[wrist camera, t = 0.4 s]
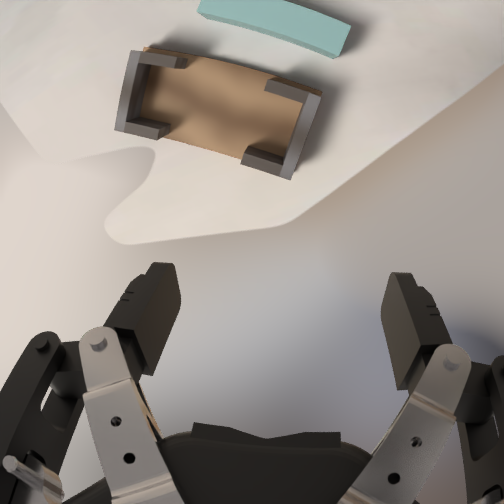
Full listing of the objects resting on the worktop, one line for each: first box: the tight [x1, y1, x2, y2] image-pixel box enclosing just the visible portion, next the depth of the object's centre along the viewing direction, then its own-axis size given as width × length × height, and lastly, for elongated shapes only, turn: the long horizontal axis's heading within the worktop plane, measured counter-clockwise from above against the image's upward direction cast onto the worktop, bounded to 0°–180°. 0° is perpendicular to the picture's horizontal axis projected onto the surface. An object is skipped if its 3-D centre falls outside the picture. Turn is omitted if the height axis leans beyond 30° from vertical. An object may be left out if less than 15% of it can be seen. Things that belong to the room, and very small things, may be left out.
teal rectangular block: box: [197, 0, 351, 59], centre depth 24 cm, size 4×14×4 cm, turn 71°
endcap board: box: [114, 47, 322, 180], centre depth 30 cm, size 10×20×4 cm, turn 73°
